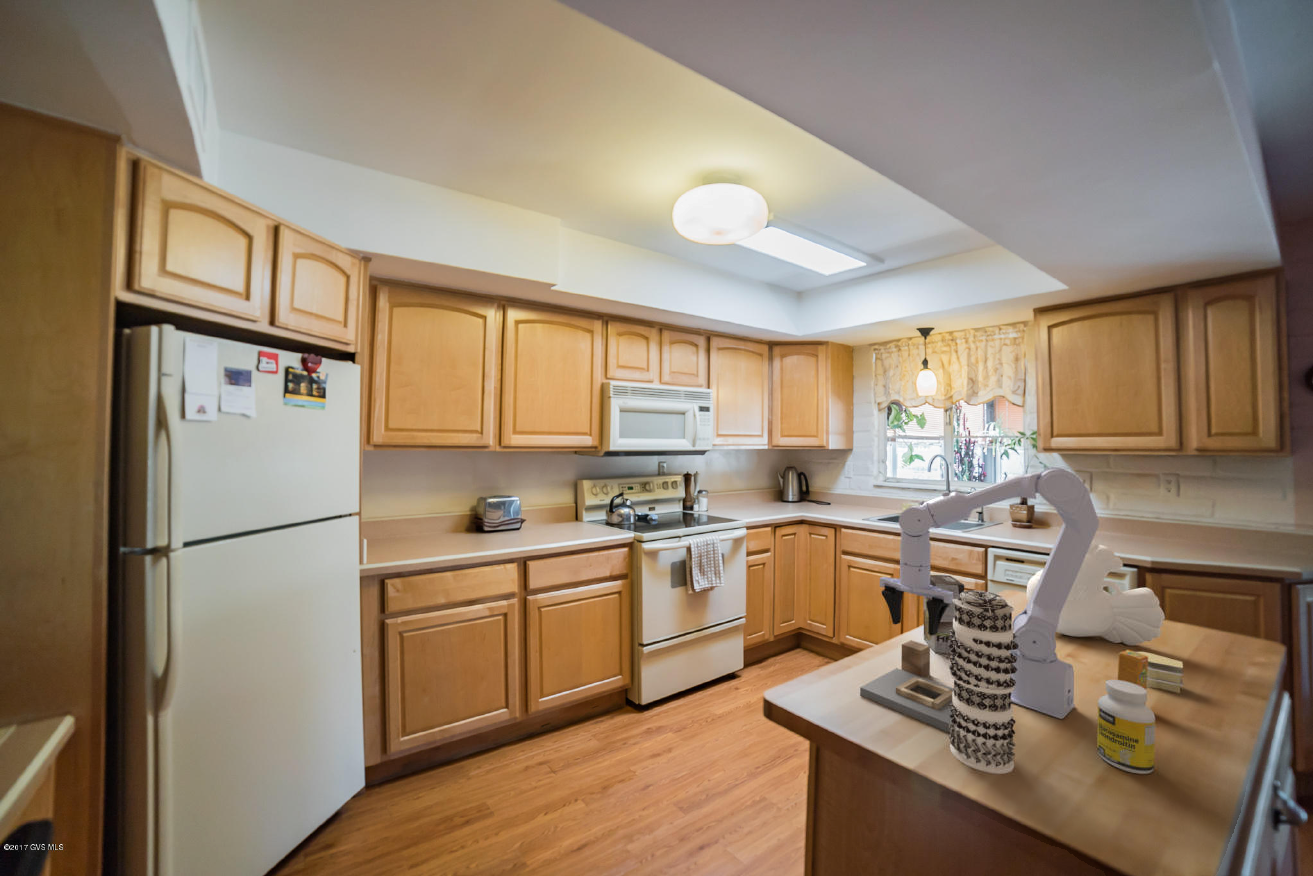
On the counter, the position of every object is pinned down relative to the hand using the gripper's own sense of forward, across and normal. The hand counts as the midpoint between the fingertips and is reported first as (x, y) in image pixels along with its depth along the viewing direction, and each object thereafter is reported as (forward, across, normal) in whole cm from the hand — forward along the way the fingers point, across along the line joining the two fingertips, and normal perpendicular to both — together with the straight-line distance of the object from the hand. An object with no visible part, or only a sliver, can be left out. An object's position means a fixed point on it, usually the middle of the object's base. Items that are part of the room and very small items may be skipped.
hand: (914, 628), depth 109 cm
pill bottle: (+10, +34, -4) cm, 36 cm away
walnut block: (+10, 0, 0) cm, 10 cm away
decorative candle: (+10, +21, -20) cm, 30 cm away
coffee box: (+10, -3, +20) cm, 23 cm away
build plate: (+9, +7, -11) cm, 16 cm away
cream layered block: (+10, +32, +36) cm, 49 cm away
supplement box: (+10, +31, +19) cm, 37 cm away
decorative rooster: (+10, +16, +56) cm, 59 cm away
